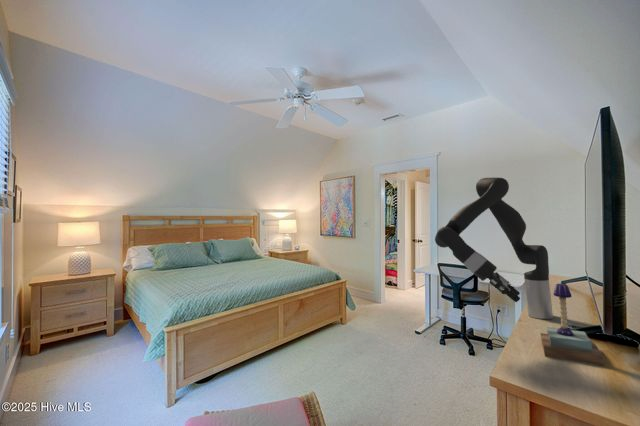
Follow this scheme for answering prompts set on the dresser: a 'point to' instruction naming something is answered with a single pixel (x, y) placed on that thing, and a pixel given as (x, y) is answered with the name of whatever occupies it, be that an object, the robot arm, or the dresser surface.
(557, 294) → the toy lamp
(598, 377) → the dresser surface
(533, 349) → the dresser surface
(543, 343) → the brick stand
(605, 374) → the dresser surface
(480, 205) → the robot arm
